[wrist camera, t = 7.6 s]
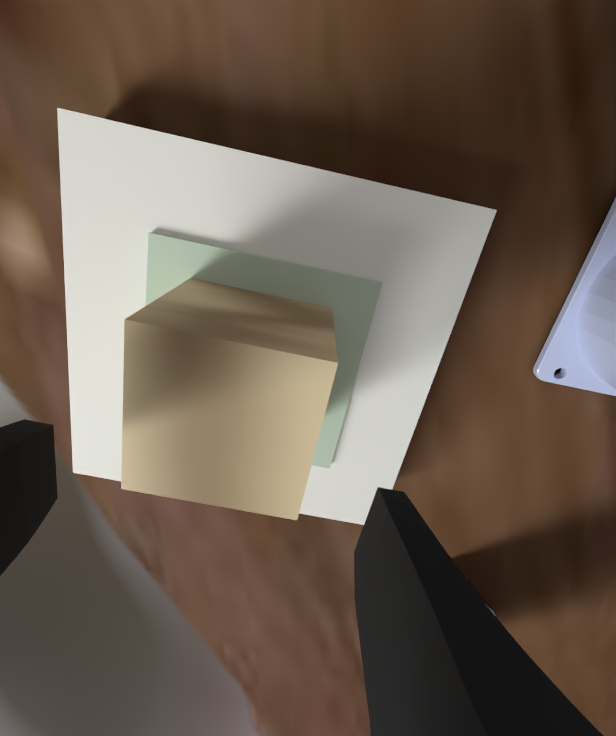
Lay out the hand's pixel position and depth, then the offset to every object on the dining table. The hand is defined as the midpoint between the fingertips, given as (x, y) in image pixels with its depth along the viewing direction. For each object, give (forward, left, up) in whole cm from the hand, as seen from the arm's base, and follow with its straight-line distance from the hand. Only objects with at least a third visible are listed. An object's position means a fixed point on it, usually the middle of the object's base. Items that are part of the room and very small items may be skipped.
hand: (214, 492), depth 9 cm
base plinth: (0, 0, -9) cm, 9 cm away
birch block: (0, 0, -7) cm, 7 cm away
